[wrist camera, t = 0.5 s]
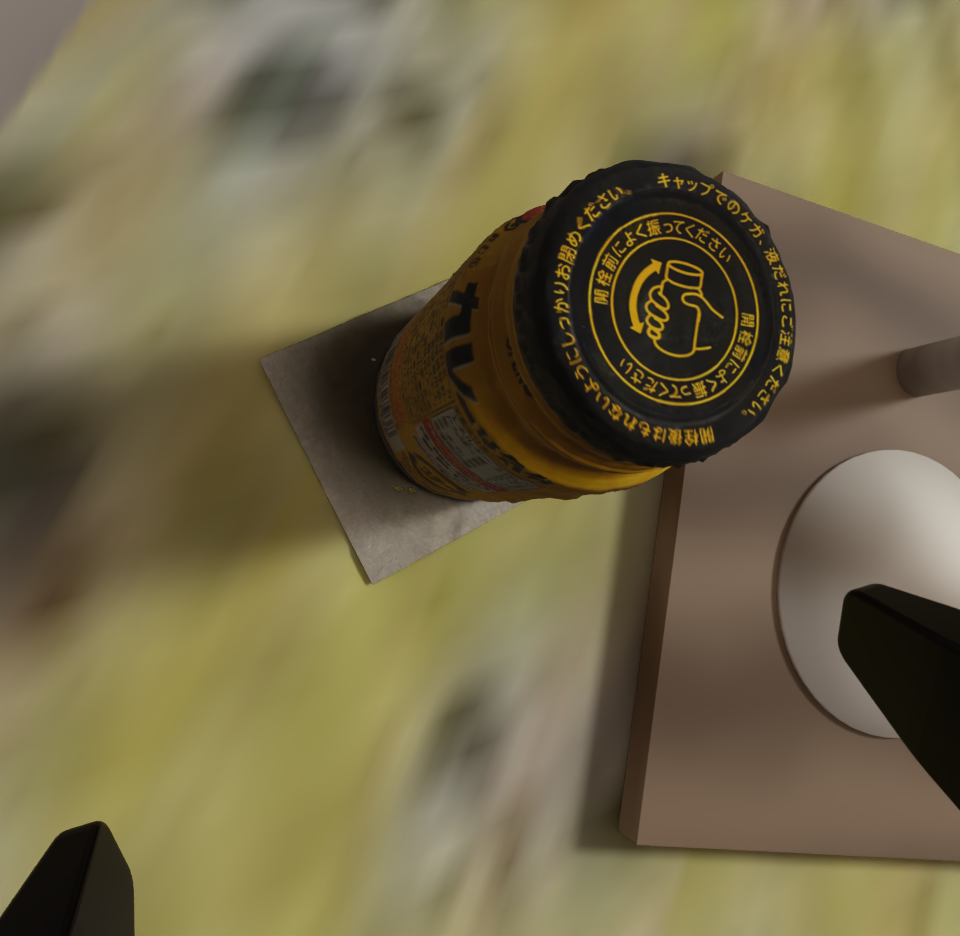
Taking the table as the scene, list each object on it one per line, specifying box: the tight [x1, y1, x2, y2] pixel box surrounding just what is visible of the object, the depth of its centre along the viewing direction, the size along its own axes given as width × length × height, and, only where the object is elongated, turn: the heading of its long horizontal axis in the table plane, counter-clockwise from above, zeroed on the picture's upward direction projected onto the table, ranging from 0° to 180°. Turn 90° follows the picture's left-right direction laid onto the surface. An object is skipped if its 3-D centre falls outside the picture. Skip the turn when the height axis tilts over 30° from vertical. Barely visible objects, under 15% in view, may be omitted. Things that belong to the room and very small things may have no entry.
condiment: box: [259, 160, 796, 584], centre depth 18 cm, size 7×8×12 cm
